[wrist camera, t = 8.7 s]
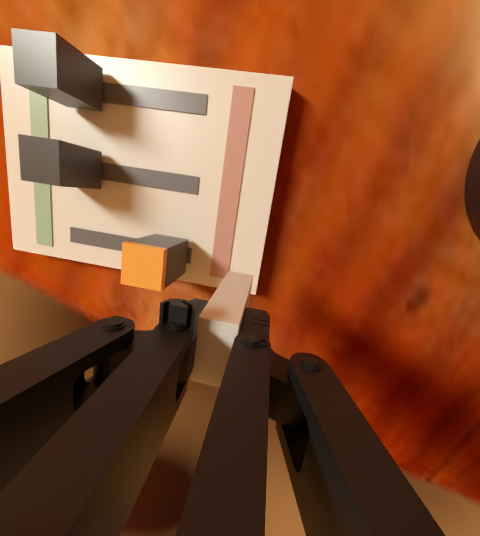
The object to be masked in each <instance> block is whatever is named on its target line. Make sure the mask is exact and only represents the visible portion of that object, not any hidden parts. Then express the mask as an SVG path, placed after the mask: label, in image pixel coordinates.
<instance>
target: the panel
mask: <svg viewBox="0 0 480 536" xmlns="http://www.w3.org/2000/svg"><path fill="white" fill-rule="evenodd" d="M84 55H86V54H84ZM86 56H87V57H88V58H90V59H91V60H92V61H94V62H95V63H96V64H98V65H99V66H100V67H101V68H103V88H102V112H101V111H93V110H85V109H78V108H70V107H66V106H64V105H62V104H59V103H57V102H55V101H53V100H51V99H48V98H46V97H44V96H42V95H39V94H37V93H35V92H33V91H30V90H28V89H26V88H24V87H22V86H19V85H17V84H15V80H14V64H13V48H12V46H3V45H0V79H1V92H2V106H3V119H4V132H5V145H6V159H7V172H8V185H9V198H10V212H11V225H12V238H13V249H16V250H21V251H26V252H32V253H37V254H42V255H47V256H53V257H58V258H63V259H69V260H74V261H79V262H84V263H90V264H95V265H100V266H105V267H111V268H116V269H121V259H122V242H125V241H129V240H133V239H137V238H141V237H145V236H148V235H152V234H160V235H166V236H171V237H177V238H183V239H189V240H188V250H187V260H186V270H185V273H184V274H183V275H182V276H180V277H179V278H178V279H177V280H179V281H184V282H190V283H195V284H200V285H205V286H211V287H216V288H218V286H219V285H220V283H221V282H222V280H223V279H224V277H225V276H226V274H227V273H228V271H233V272H238V273H244V274H249V275H253V281H252V287H251V293H250V294H253V295H256V291H257V286H258V281H259V275H260V269H261V264H262V258H263V252H264V246H265V241H266V235H267V229H268V224H269V218H270V212H271V206H272V201H273V195H274V189H275V184H276V178H277V172H278V167H279V161H280V155H281V149H282V144H283V138H284V132H285V127H286V121H287V115H288V109H289V104H290V98H291V92H292V86H293V78H294V77H291V76H281V75H272V74H263V73H253V72H244V71H235V70H226V69H216V68H207V67H198V66H188V65H179V64H170V63H161V62H151V61H142V60H133V59H123V58H114V57H105V56H96V55H86ZM18 134H22V135H29V136H36V137H43V138H50V139H57V140H61V141H65V142H69V143H72V144H76V145H79V146H83V147H86V148H90V149H93V150H97V151H100V152H102V173H101V189H90V188H75V187H61V186H54V185H48V184H42V183H36V182H29V181H23V180H21V174H20V159H19V143H18Z"/></svg>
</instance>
